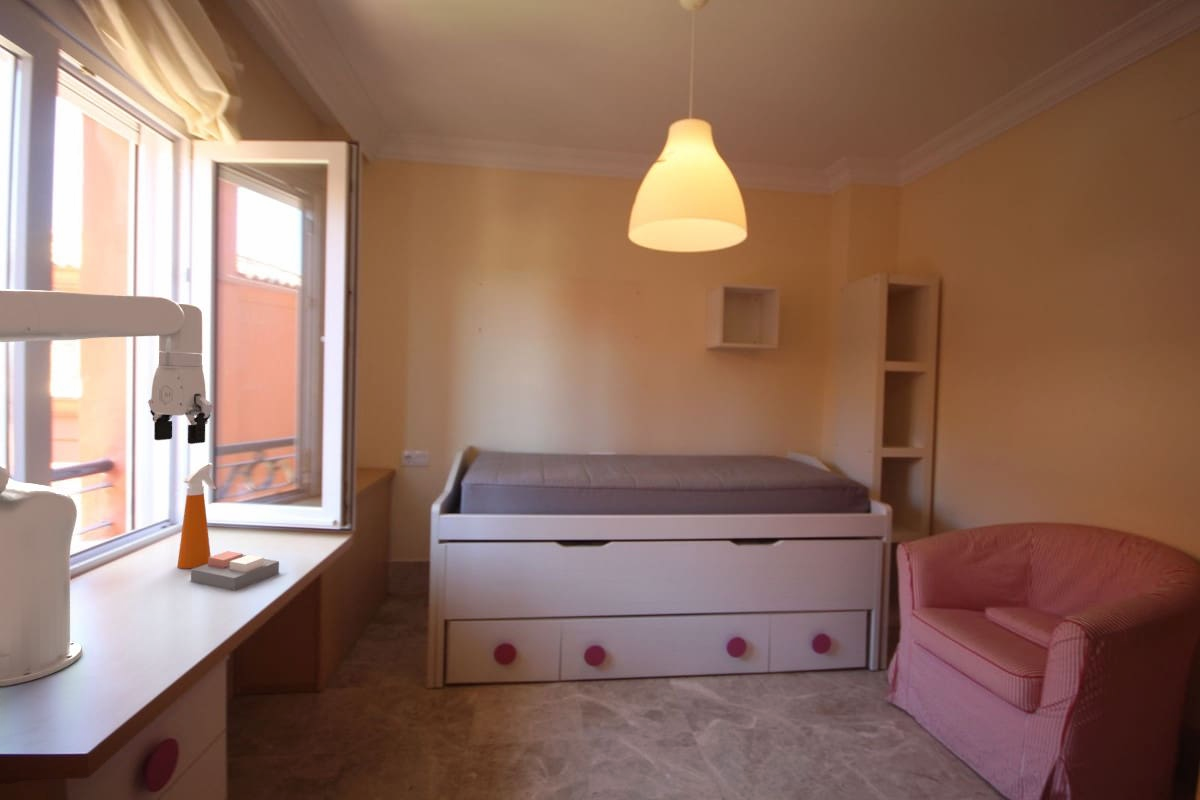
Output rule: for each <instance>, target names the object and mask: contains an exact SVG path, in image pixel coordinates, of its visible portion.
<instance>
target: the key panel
mask: <svg viewBox="0 0 1200 800" xmlns="http://www.w3.org/2000/svg"><path fill="white" fill-rule="evenodd" d="M247 555H248V554H247ZM247 555H246V554H243V557H244V556H247ZM279 568H280V561H278V560H274V559H268V558H264V566H262V567H259V568H257V569H254V570H251V571H249V572H246V573H243V572H238V571H233V570H230V567H227V568H224V569H222V568H217V567H212V566H209V563H208V564H206V565H203V566H200V567H197V568H190V582H192V583H197V584H201V585H207V586H211V587H216V588H221V589H225V590H230V591H237V590H239V589H242V588H244V587H246V586H249V585H251V584H254V583H256V582H259V581H261V580H264V579H266V578H269V577H272V576H275V575H276V574H279V573H280V572H279V571H280V569H279Z"/></svg>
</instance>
